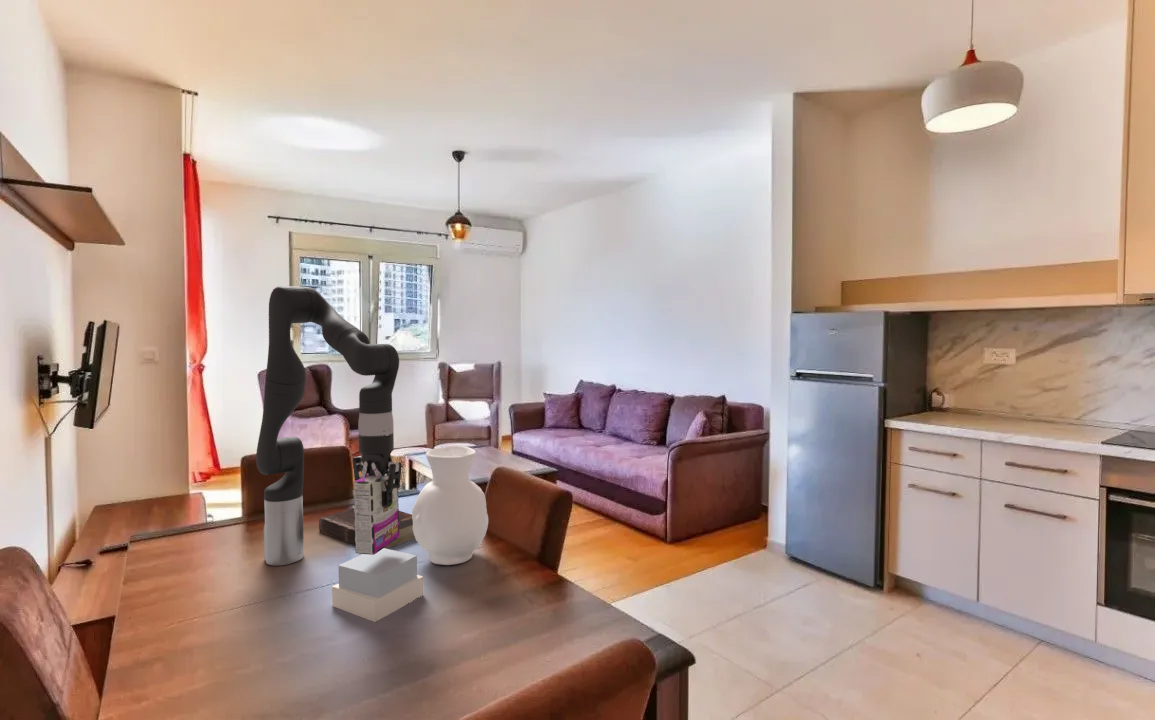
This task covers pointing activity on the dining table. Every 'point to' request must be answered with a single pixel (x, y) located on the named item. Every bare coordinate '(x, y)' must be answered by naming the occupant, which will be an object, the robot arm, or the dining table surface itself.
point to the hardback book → (344, 527)
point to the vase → (450, 508)
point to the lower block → (377, 600)
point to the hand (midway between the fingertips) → (377, 504)
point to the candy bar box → (374, 516)
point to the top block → (377, 572)
